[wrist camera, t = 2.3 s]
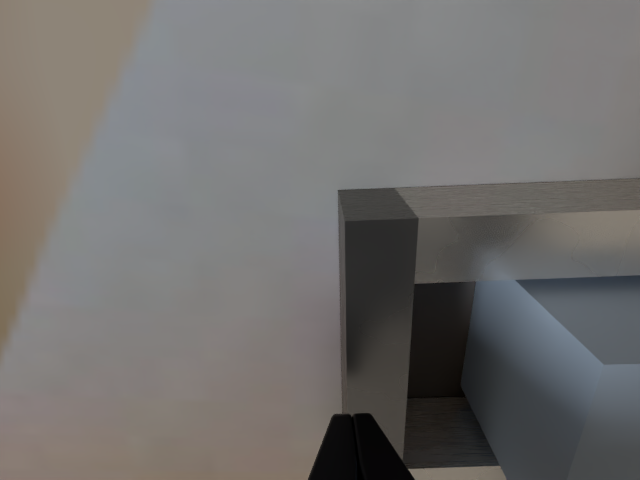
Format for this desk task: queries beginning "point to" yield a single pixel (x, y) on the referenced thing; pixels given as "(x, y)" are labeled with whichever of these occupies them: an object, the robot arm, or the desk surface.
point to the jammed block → (557, 376)
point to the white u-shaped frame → (459, 266)
